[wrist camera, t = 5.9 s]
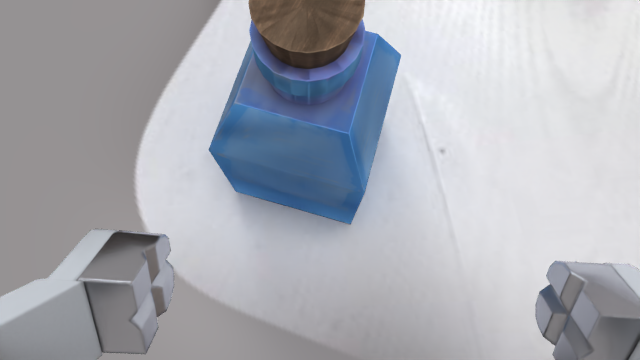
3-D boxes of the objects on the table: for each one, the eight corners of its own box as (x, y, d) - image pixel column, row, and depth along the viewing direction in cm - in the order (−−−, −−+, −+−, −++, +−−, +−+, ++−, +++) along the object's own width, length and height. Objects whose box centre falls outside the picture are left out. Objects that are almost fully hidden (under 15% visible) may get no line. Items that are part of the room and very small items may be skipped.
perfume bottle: (350, 224, 22) (391, 133, 11) (235, 191, 23) (156, 70, 11) (379, 117, 24) (441, -59, 12) (272, 89, 24) (236, -108, 13)
